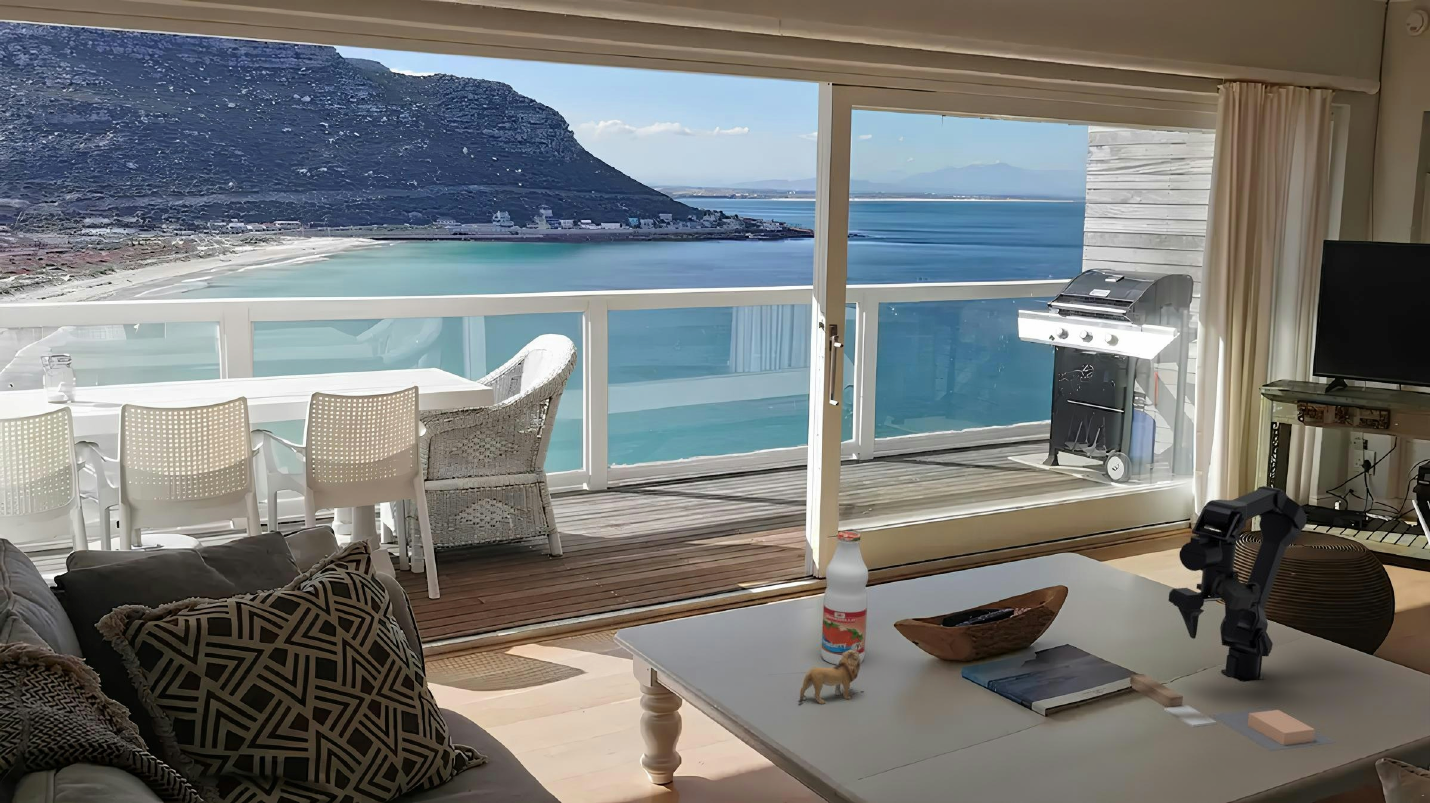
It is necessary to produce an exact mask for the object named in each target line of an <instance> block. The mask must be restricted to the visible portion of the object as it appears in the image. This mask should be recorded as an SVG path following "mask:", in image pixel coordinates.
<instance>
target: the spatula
mask: <svg viewBox="0 0 1430 803" xmlns="http://www.w3.org/2000/svg"><path fill="white" fill-rule="evenodd" d="M1130 684H1131V686H1132V689H1133V690H1135V691H1137V692H1138V693H1141V694H1142V695H1144V696H1145V697H1147V698H1149V699H1151V700H1153V701H1154V702H1156V703H1157V704H1160V705H1162V707H1164V708H1163V710H1164V711H1165V712H1167V713H1168V714H1170V715H1171V716H1173V717H1175V718H1176V719H1179V720H1180V721H1181V722H1183V723H1185V724H1187V725H1189V726H1190V727H1192V728H1194V727H1200V726H1210V725H1216V724H1217V721H1216V720H1214V719H1212V718H1210V716H1207V715H1206V714H1203V713H1202V712H1200V711H1198V710H1197V709H1195V708H1194V707H1191V706H1190V705H1188V704H1187V705H1183V700H1184V698H1183V697H1184V696H1183V695H1181V694H1179V693H1178V692H1176V691H1175V690H1172V689H1171V688H1169V687H1167V686H1165V685H1163V684H1161V683H1160V682H1158V681H1156V680H1154V679H1153V678H1151V677H1149V676H1147V675H1145V674H1143V673H1137V674H1130V679H1129V685H1130Z"/></svg>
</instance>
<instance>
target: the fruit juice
mask: <svg viewBox="0 0 1430 803" xmlns="http://www.w3.org/2000/svg"><path fill="white" fill-rule="evenodd" d="M836 538H837V540H836V541H838V544H837V546H836V549H835V551H834V553H833V556H832V559H831V560H830V562H829V563H828V564H827V566H826V569H825V579H826V582H827V583H826V584H827V586H826V588H825V590H824V595H823V607H822V608H823V610H822V626H821V628H822V629H821V650H820V651H821V658H822V659H823V660H824V661H826V662H827V663H830V664H833V665H835V666H837V665H838V664H839V661H840V660H841V659H842V657H843V656H842V654H843V653H844V652H847V651H848V650H854V651H857V652H858V653H859V656H860V658H861V663H862V662H863V661H864V659H865V652H866V638H867V637H866V635H867V634H866V633H867V618H868V617H867V616H868V614H867V613H868V593H867V589H866V586H867V583H868V580H869V570H868V568H867V565H866V563H865V562H864V559H863V556H862V552H861V548H860V542H861V533H859V532H856V531H850V530H843V531H839V532H837V536H836Z"/></svg>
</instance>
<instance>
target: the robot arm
mask: <svg viewBox="0 0 1430 803" xmlns="http://www.w3.org/2000/svg"><path fill="white" fill-rule="evenodd" d="M1258 516H1259V526H1258V527H1259V530H1260V534H1261V536H1262V539H1261V543H1260V545H1259V549H1258V551H1257V553H1256V556H1255V559H1254V562H1253V565H1252V568H1251V572H1250V574H1249V577H1248V580H1247V582H1241V581H1240V580H1239V575H1240V574H1239V572H1238V570H1237V569H1236V570H1235V569H1234V568H1235V558H1236V557H1235V556H1236V548H1237V542H1238V541H1241V540H1242V537H1241V536H1240V533H1241V531H1242V530H1244V529H1245V528H1246V527H1247V522H1248V521H1249V520H1250V519H1253V518H1255V517H1258ZM1307 518H1308V516H1307V513H1305V510H1304V509H1303V507H1302V506H1301V505H1300V504H1299V503H1297V502H1296V501H1294V500H1293V499H1291V498H1290V497H1289V496H1288V495H1287V493H1286V491H1284V490H1282V489H1281V488H1276V487H1270V486H1266V485H1263V486H1259V487H1257V489H1255V490H1253V491H1251V492H1248V493H1246V494H1244V495H1242V496H1238V497H1237V498H1234V499H1227V500H1226V499H1212V500H1209V501H1208V502H1207V503H1206V504H1204V506H1203V507H1202V510H1201V511H1200V514H1199V515H1198V518H1197V520H1196V522H1195V524H1194V527H1193V528H1192V531H1191V534H1192V535H1191V536H1190V541H1189V542H1186V543H1185V544H1184V545H1182V546H1181V549H1180V550H1179V554H1178V555H1179V560H1180V562H1181V564H1182V565H1183V567H1184V568H1185V569H1187V570H1189V571H1191V572H1197V571H1201V572H1202V573H1201V582H1200V583H1196V587H1195V588H1196V590H1199V591H1200V592H1197V591H1195V590H1192V589H1191V588H1188V587H1177V588H1171V590H1170V591H1169V592H1168V593H1169V594H1168V602H1169V603H1171V604H1173V606H1175V607H1177V609H1178V610H1179V612H1180V615H1181V616H1182V619H1183V621H1184V624H1185V627H1186V630H1187V632H1188V635H1189V637H1190V638H1191V639H1193V640H1195V639H1196V636H1197V634H1198V633H1197V632H1198V625H1199V616H1200V615H1201V614H1202V613H1203V612H1204V609H1202V608H1203V607H1204V605H1205V602H1215V601H1216V602H1217V601H1223V603H1224V613H1225V614H1224V617H1223V619H1222V621H1221V624H1220V627H1219V629H1220V638H1221V646H1224V647H1229V648H1228V653H1227V655H1226V663H1225V669H1221V671H1220V672H1221V673H1222V674H1224V675H1225V676H1228V677H1230V678H1233V679H1236V680H1238V681H1240V682H1243V683H1244V682H1245V683H1246V682H1253V681H1263V680H1266V679H1267V678H1266V677H1264V676H1262V675H1261V673H1262V665H1263V664H1262V663H1263V657H1270V654H1271V652H1272V649H1273V645H1274V643H1273V641H1272V640H1271V638H1270V636H1269V634H1268V632H1267V630H1268V626H1269V624H1268V619H1267V615H1266V611H1265V609H1266V606H1267V604H1268V601H1269V600H1268V599H1269V597H1270V595H1271V592H1272V588H1273V586H1274V583H1275V580H1276V578H1277V574H1278V572H1279V570H1280V566H1281V563H1282V560H1283V557H1284V554H1285V552H1286V549H1287V548H1288V547H1289V546H1290V545H1291V544H1293V543H1294V542H1295V541H1297V540H1298V539H1299V537H1300V535H1301V533H1302V531H1303V530H1304V528H1306V524H1307V520H1308V519H1307Z"/></svg>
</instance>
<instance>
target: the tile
mask: <svg viewBox="0 0 1430 803" xmlns="http://www.w3.org/2000/svg"><path fill="white" fill-rule="evenodd" d="M1248 726H1250V727H1252V728H1254V729H1255V730H1257V731H1259V732H1261V733H1262V734H1264V735H1266V736H1268V737H1269V738H1271V739H1273V740H1275V741H1276V742H1278V743H1280V744H1282V745H1290V744H1298V743H1306V742H1313V741H1314V732H1316V729H1315V728H1313V727H1311V726H1310V725H1307V724H1306V723H1304V722H1302V721H1300V720H1298V719H1297V718H1295V717H1292V716H1290V715H1289V714H1287V713H1285V712H1283V711H1281V710H1280V709H1274V710H1273V711H1264V712H1256V713H1249V717H1248Z"/></svg>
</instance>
